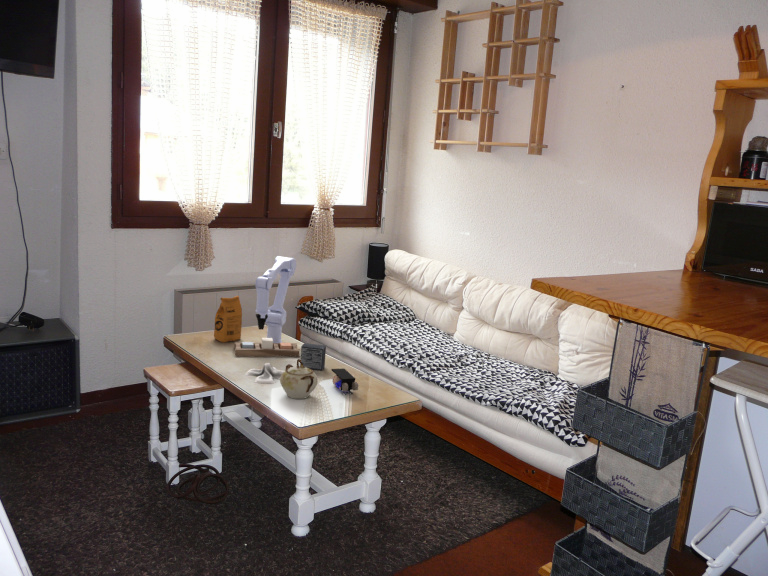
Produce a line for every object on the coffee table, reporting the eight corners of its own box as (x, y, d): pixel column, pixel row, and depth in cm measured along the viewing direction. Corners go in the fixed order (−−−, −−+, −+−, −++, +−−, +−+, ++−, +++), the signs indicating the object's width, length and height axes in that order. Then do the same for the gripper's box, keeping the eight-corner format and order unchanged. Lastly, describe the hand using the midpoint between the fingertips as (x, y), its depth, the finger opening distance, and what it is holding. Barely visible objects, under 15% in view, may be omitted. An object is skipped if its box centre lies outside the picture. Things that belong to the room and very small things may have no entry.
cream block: (261, 345, 315) (261, 337, 314) (271, 345, 316) (272, 338, 315) (261, 348, 310) (262, 340, 309) (272, 349, 311) (273, 340, 311)
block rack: (234, 348, 315) (234, 342, 315) (296, 349, 323) (296, 343, 323) (235, 355, 304) (235, 349, 303) (299, 356, 312) (299, 350, 311)
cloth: (261, 387, 268) (262, 373, 267) (236, 374, 281) (236, 360, 279) (303, 378, 284) (304, 364, 283) (278, 366, 296) (279, 353, 295)
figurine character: (357, 398, 269) (342, 382, 281) (360, 381, 266) (345, 366, 279) (343, 400, 265) (328, 383, 278) (345, 383, 263) (330, 367, 276)
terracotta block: (279, 350, 318) (280, 342, 317) (289, 350, 319) (290, 342, 318) (280, 353, 313) (281, 345, 312) (291, 353, 314) (291, 345, 314)
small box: (325, 366, 301) (326, 345, 299) (322, 371, 294) (324, 348, 292) (302, 364, 301) (304, 342, 299) (299, 368, 295) (300, 346, 293)
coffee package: (211, 338, 328) (213, 295, 323) (231, 335, 337) (234, 293, 333) (222, 343, 321) (224, 300, 317) (243, 340, 330) (245, 297, 326)
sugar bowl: (269, 389, 265) (271, 354, 262) (300, 384, 274) (303, 350, 271) (294, 406, 250) (297, 369, 247) (326, 400, 259) (329, 364, 256)
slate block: (241, 349, 313) (242, 341, 312) (252, 350, 314) (253, 342, 314) (242, 352, 308) (242, 344, 307) (253, 353, 310) (253, 345, 309)
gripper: (272, 305, 306) (270, 333, 309) (269, 298, 320) (268, 325, 323) (257, 304, 304) (255, 333, 307) (255, 298, 318) (253, 325, 321)
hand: (260, 329), depth 315 cm, fingers closed
